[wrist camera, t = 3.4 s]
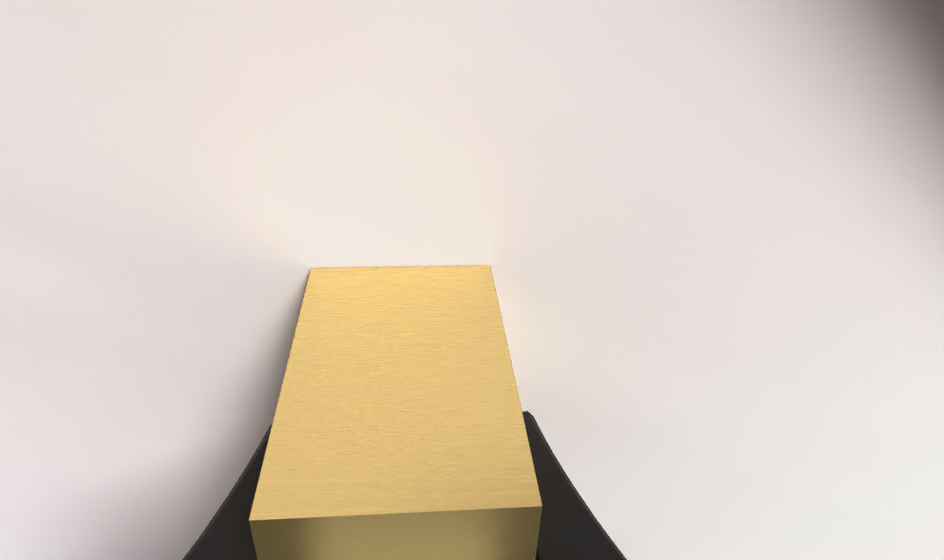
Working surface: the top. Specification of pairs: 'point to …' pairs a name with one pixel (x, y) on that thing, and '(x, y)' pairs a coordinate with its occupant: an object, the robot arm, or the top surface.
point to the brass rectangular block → (398, 425)
